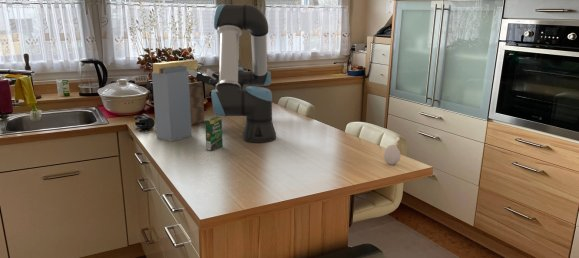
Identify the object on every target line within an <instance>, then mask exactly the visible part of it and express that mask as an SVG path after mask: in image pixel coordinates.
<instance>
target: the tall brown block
mask: <svg viewBox="0 0 579 258" xmlns="http://www.w3.org/2000/svg"><path fill="white" fill-rule="evenodd" d="M189 94H190V113H191V126H192V125H197V124H199V123H205V105H204V104H205V103H204V82H201V81H195V82H192V80H191V79H189Z"/></svg>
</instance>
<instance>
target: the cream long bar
mask: <svg viewBox="0 0 579 258" xmlns="http://www.w3.org/2000/svg"><path fill="white" fill-rule="evenodd" d="M181 66H187V70H192V69H193V70H197V69H198V67H199V66H198V59H184V60H175V61H164V62H156V63H152V72H153V73H159V74H160V73H163V69H164V68H172V67H181Z"/></svg>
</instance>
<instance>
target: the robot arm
mask: <svg viewBox="0 0 579 258" xmlns="http://www.w3.org/2000/svg"><path fill="white" fill-rule="evenodd" d="M213 27H214V29H215V30H216V33H217V34H218V35H219V36H220V37H219V67H218V69H219V70H218V73H216V72H214V71H213V70H212V69H210V68H207V69H206V72H205V74H206V75H207V76H206V75H203V74H200V73H199V72H198V71H197V70H196V69H192V70H187V71H188V75H190V76H192V78H193V80H197V81H198V82H203V84H206V85H208V86H212V87H214V89H212V90H211V94H210V95H211V102H212V104H211V105H212V109H213V112H214V115H216V116H218V117H245V120H246V121H245V126H244V129H243V133H242V140H243V141H245V142H249V143H268V142H273V141H275V140H276V139H277V132H276V130H275V127H274V123H273V95H272V94H273V93H272V91H271V90H270V88H266V87H263V86H270V85H271V84H272V78H271V77H272V76H271V75H272V74H271V73H272V72H271V71H268V55H267V54H268V53H267V52H268V50H267V49H268V48H267V47H268V46H267V44H268V43H267V41H268V40H267V35H268V34H269V22H268V20H267V18H266V15H265V14H264V13H263V11H262V10H261V9H260V8H258V7H257V6H255V5H253V4H248V3H247V4H228V3H225V4H218V5H217V6H216V8H215V10H214V15H213ZM243 31H248V34H249V35H250V42H251V58H252V59H251V61H252V70H250V71H248V70H247V71H245V69H244V68H243V67H239V52H240V49H239V47H240V37H241V36H242V34H243ZM245 86H246V87H245ZM244 87H245V89H244Z"/></svg>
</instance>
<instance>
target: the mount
mask: <svg viewBox="0 0 579 258" xmlns="http://www.w3.org/2000/svg"><path fill="white" fill-rule="evenodd" d="M189 75H190V74H189V73H188V71H187V66H181V67H172V68H164V69H163V73H160V74H159V73H153V71H151V79H152V80H151V81H152V95H153V103H154V104H153V107H154V122H155V135H156V139H160V140H163V141H167V142H170V143H172V142H174V141H178V140H182V139H185V138H189V137H192V125H191V113H190V94H189V80H190V78H189Z"/></svg>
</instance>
